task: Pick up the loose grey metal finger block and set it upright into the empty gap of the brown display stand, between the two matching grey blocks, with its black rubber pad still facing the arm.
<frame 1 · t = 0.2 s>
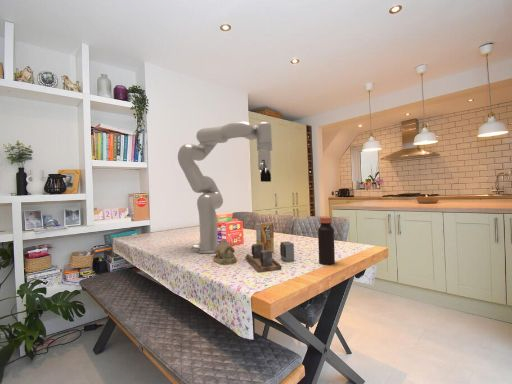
hand: (266, 181, 137), 37 cm above the table, tool pointing down, fingers open, 9 cm apart
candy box: (265, 253, 141), on the table
bottle: (326, 263, 120), on the table
finger block: (287, 260, 126), on the table
ceramic model: (225, 261, 129), on the table
brown display stand: (262, 264, 120), on the table
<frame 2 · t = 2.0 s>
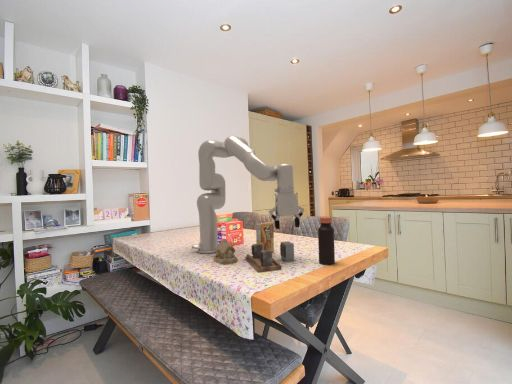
hand: (287, 227, 125), 15 cm above the table, tool pointing down, fingers open, 9 cm apart
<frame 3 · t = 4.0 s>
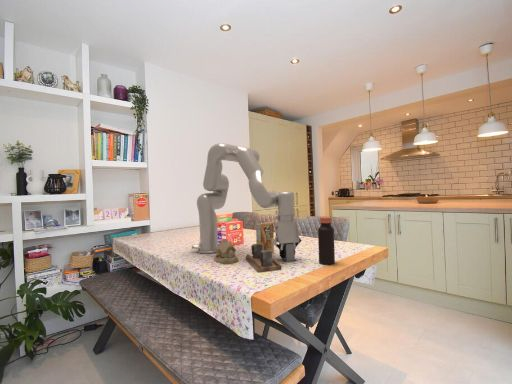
hand: (287, 257, 126), 1 cm above the table, tool pointing down, fingers closed on finger block, 4 cm apart
finger block: (288, 259, 126), on the table, touching gripper
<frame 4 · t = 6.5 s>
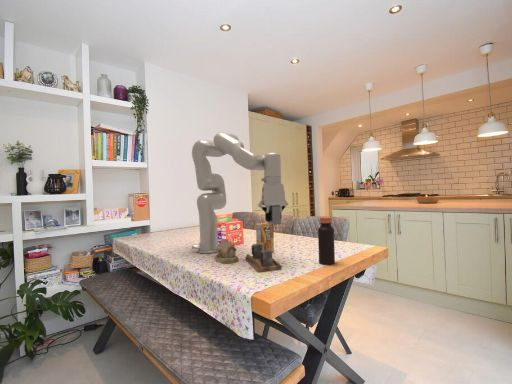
hand: (273, 220, 123), 19 cm above the table, tool pointing down, fingers closed on finger block, 4 cm apart
finger block: (274, 223, 123), point 18 cm above the table, touching gripper
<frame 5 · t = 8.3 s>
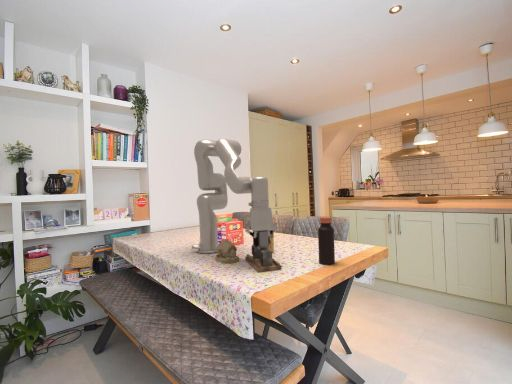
hand: (261, 245, 120), 8 cm above the table, tool pointing down, fingers closed on finger block, 4 cm apart
finger block: (262, 248, 120), point 7 cm above the table, touching gripper
when the fingers open (4 cm above the table, at t = 9.5 s): finger block drops 1 cm, resting on brown display stand.
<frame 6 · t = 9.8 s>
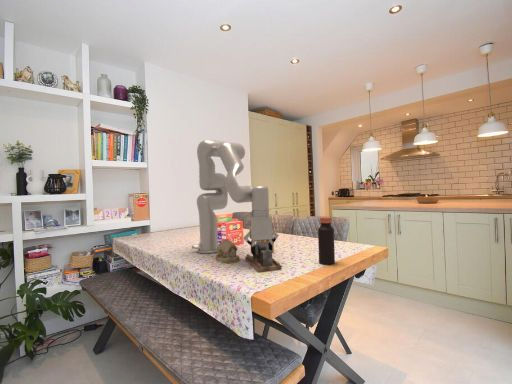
hand: (261, 253, 120), 5 cm above the table, tool pointing down, fingers open, 7 cm apart
finger block: (262, 260, 121), point 1 cm above the table, touching brown display stand
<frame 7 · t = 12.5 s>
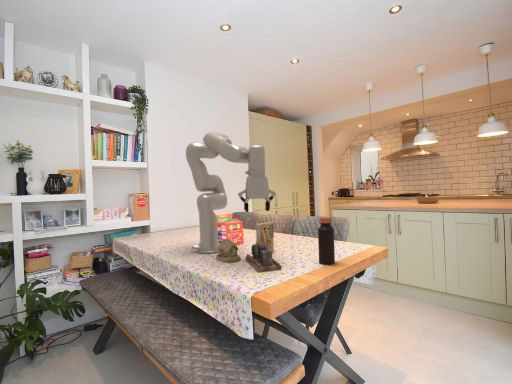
hand: (257, 211, 123), 23 cm above the table, tool pointing down, fingers open, 9 cm apart
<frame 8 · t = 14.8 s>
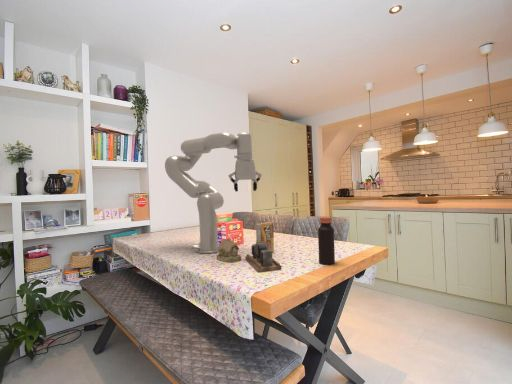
hand: (245, 191, 139), 32 cm above the table, tool pointing down, fingers open, 9 cm apart
at the end: finger block 0.2 cm off-centre on the brown display stand, point 1.5 cm above the brown display stand's base; finger block tilted 0°; the gripper is holding nothing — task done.
